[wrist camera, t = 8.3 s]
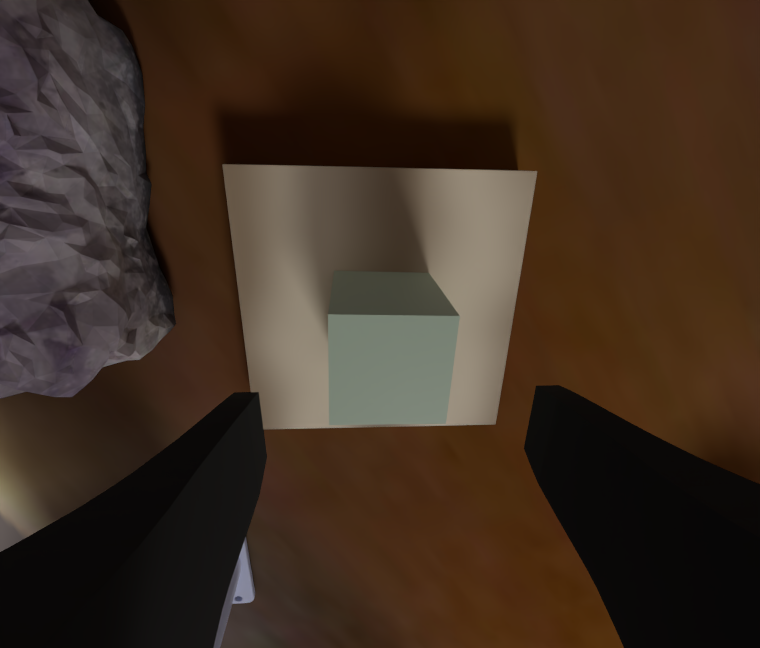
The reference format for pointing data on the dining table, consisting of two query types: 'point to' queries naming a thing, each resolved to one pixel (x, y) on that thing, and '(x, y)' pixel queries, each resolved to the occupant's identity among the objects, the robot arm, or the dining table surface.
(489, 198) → the slab
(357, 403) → the block
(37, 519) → the dining table surface
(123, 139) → the geode
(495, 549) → the dining table surface
